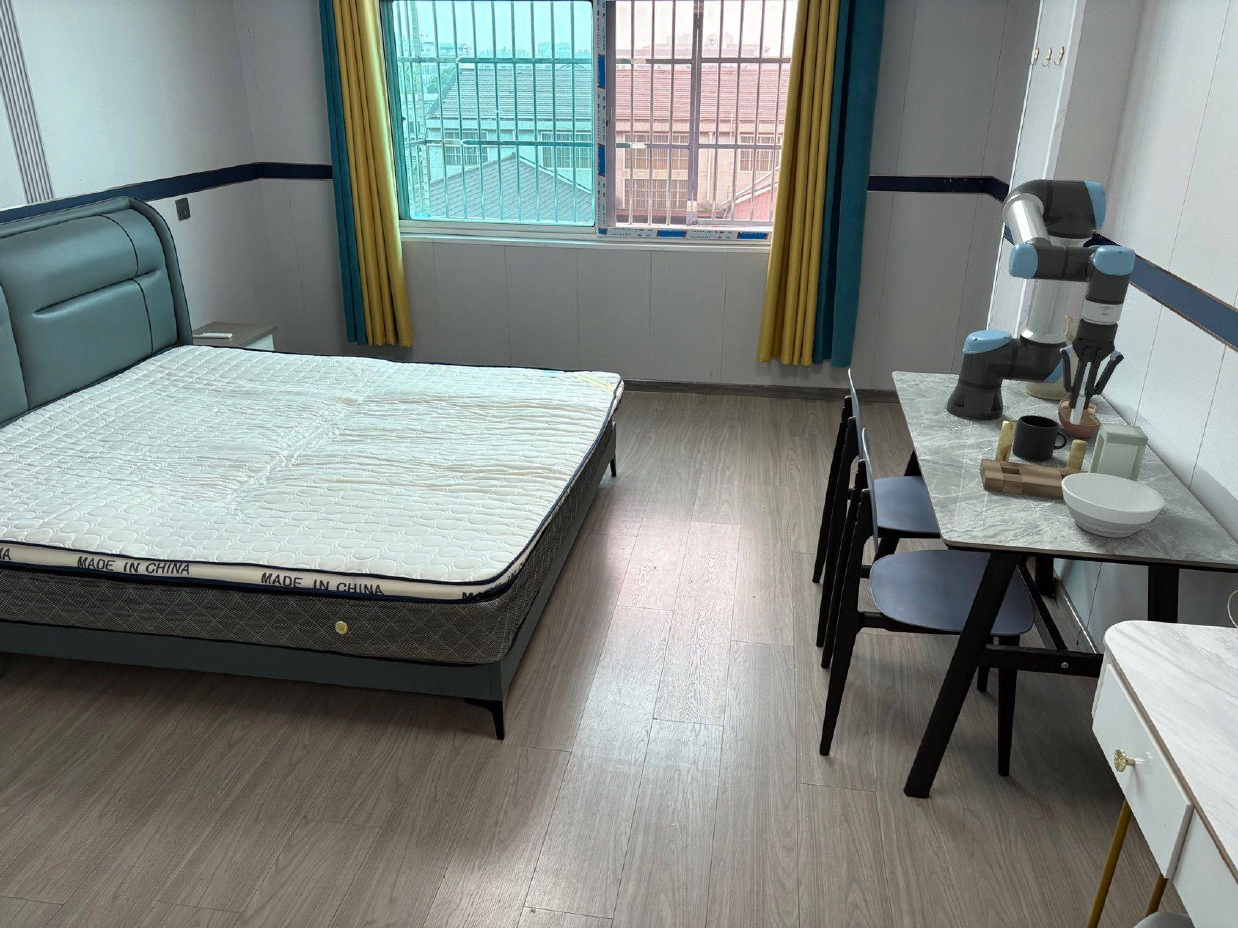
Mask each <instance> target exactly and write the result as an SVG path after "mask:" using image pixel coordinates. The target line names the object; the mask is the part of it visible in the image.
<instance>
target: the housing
mask: <svg viewBox="0 0 1238 928" xmlns="http://www.w3.org/2000/svg"><path fill="white" fill-rule="evenodd" d="M1100 422H1101V423H1100V426H1099V428H1098V430H1097V431H1098V432H1097V436H1096V441H1095V444H1094V448H1093V452H1092V457H1091V460H1090V462H1089V468H1088V470H1087V471H1088V473H1097V474H1106V475H1112V476H1117V477H1121V478H1126V479H1129V480H1132V481H1135V482H1137V481H1138V477H1139V475H1140V471H1141V467H1142V463H1143V459H1144V455H1145V453H1146V449H1147V445H1148V440H1149V437H1148V436H1147V435H1146V433H1145V432H1144V430H1143V429H1142V428H1141V427H1140V426H1138V425H1130V424H1121V423H1111V422H1104V421H1100Z"/></svg>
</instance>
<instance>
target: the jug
mask: <svg viewBox="0 0 1238 928" xmlns="http://www.w3.org/2000/svg"><path fill="white" fill-rule="evenodd" d="M1064 322H1066V330H1065V332H1064V335H1065V336H1066V342H1067V343H1069V345H1072V342H1073V341H1074V339H1075V338H1076V334H1075V335H1074V334H1073V333H1074V330H1075V321H1074V319H1073V318H1072V316H1071V315H1070V314H1068V313H1066V317H1065V321H1064ZM1070 363H1071V386H1073V382H1074V378H1075V374H1076V370H1077V365H1078V357H1077V355H1076V353H1075V351H1074V350H1073V351H1072V355H1071V356H1070ZM1024 383H1025V390H1026V391H1025V392H1026V393H1027V394H1028V395H1030V396H1032V397H1035V398H1039V399H1043V400H1050V401H1062V400H1063V399H1069V398H1070V396H1071V393H1069V392H1066V391H1065V389H1064V384H1063V376H1062V377H1061V378H1060V379H1059V380H1058V381H1057V382H1055V383H1041V384H1039V383H1034V382H1025V381H1024Z"/></svg>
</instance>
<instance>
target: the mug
mask: <svg viewBox="0 0 1238 928" xmlns="http://www.w3.org/2000/svg"><path fill="white" fill-rule="evenodd" d="M1059 429H1060V423H1059V422H1058V421H1057V420H1054V419H1052V418H1049V417H1046V416H1041V415H1034V414H1031V415H1028V414H1027V415H1022V416H1020V417H1018V421H1017V424H1016V429H1015V434H1014V438H1013V443H1012V448H1011V451H1012V453H1013V455H1014V456H1016V457H1018V458H1021V459H1024V460H1027V461H1032V462H1033V461H1034V462H1047V461H1049V460H1051V459H1052V458H1053V456H1054V451H1056V450H1061V449H1063V448H1065V447H1066V446H1067V444H1068V437H1067V435H1066V434H1065V433H1063V432H1060V431H1059ZM1057 437H1061V438H1062V439H1063V443H1062V444H1061V445H1056V443H1057Z"/></svg>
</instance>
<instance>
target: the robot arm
mask: <svg viewBox="0 0 1238 928" xmlns="http://www.w3.org/2000/svg"><path fill="white" fill-rule="evenodd" d="M1106 211H1107V195H1106V190H1105V187H1104V185H1103V184H1101V183H1100V182H1095V181H1090V180H1089V181H1087V180H1079V179H1078V180H1076V179H1075V180H1072V179H1071V180H1070V179H1069V180H1068V179H1047V178H1046V179H1045V178H1044V179H1043V178H1041V179H1039V178H1038V179H1033V180H1029V181H1028V180H1027V181H1025V182H1024V183H1021V184H1019V185H1018V186H1016V187H1015V188H1013V190H1011V191H1010V192H1009V193H1008V194H1007V195H1006V197H1005V198H1004V201H1002V205H1001V210H1000V212H1001V213H1000V215H1001V219H1002V221H1003V224H1005V226H1006V227H1007V228H1008V229H1009V230H1010V234H1011V237H1012V241H1013V244H1014V245H1013V246H1012V248H1011V251H1010V255H1009V258H1008V260H1009V261H1008V274H1009V275H1010V277H1013V278H1018V279H1019V278H1020V279H1024V280H1037V281H1038V282H1037V286H1036V291H1035V295H1034V297H1033V303H1032V308H1031V311H1030V316H1029V319H1028V320H1029V321H1028V326H1027V327H1025V328H1023V329H1022V330H1021V331H1020V334H1019V338H1017V337H1014V338H1013V335H1012V334H1011V333H1010V332H1009V331H1006V330H999V329H984V330H978V331H974V332H971V333H970V334H968V335H967V337H966V338H965V341H964V345H963V349H962V357H961V361H960V362H961V363H960V367H959V368H960V369H959V373H958V380H957V384H956V386H955V387H954V389H953V391H952V393H951V394H950V396H949V398H948V399H947V404H946V410H947V412H949V413H951V414H952V415H954V416H957V417H960V418H963V419H967V420H975V421H986V422H987V421H996V420H999V419H1001V418H1002V417H1003V414H1004V409H1005V408H1004V402H1003V401H1004V400H1003V396H1002V395H1003V394H1002V386H1003V381H1004V380H1006V381H1017V382H1024V383H1025V382H1034V383H1039V384H1041V383H1055V382H1057V381H1058V380H1059V379H1060V378H1061V377H1062V376H1063V384H1064V389H1065V391H1066V392H1069V393H1070V396H1069V399H1070V401H1069V407H1070V408H1071V409H1072V413H1071V417H1070V421H1071V423H1072V424H1078V425H1079V423H1080V419H1081V415H1082V411H1083V410H1087V409H1088V407H1089V403H1091V399H1092V398H1093V397H1094V396H1101V395H1102V393H1103V392H1104V389H1105V387H1106V386H1107V384H1108V382H1109V380H1110V379H1111V377H1112V375H1113V373H1114V372H1115V370H1116V367H1117V366H1118V365H1120V363H1121V362H1122V361H1123V360H1124V358H1125V356H1124V355H1123V354H1122V353H1121V352H1120V351H1118V350H1116V347H1115V340H1116V337H1117V332H1118V327H1119V324H1118V322H1119V321H1120V320H1121V317H1122V311H1123V307H1124V303H1125V300H1126V296H1127V294H1128V293H1127V292H1128V288H1129V284H1130V281H1131V277H1132V272H1133V271H1134V269H1135V261H1136V260H1135V259H1136V251H1135V250H1134V249H1132V248H1130V247H1127V246H1122V245H1121V246H1120V245H1107V244H1106V245H1090V246H1089V247H1088V246H1087V247H1084V244H1085V243H1086V242H1087V241H1089V240H1092V238H1093V234H1094V231H1099V230H1101V229H1102V228H1103V226H1104V225H1103V224H1104V223H1105V219H1106V214H1107V213H1106ZM1075 283H1086V284H1087V288H1086V294H1085V296H1084V297H1085V298H1084V301H1083V304H1082V310H1081V314H1080V316H1081V317H1082V318H1080V319H1079V321H1078V326H1077V331H1076V334H1075V336H1076V338H1075V339H1074V341H1073V342H1072V345H1069V343H1067V342H1066V336H1065V335H1064V334H1065V332H1063V329H1064V324H1065V322H1066V321H1065V317H1066V314H1068V309H1069V305H1070V300H1071V297H1072V292H1073V287H1074V284H1075ZM1073 350H1074V351H1075V353H1076V355H1077V357H1078V365H1077V370H1076V374H1075V378H1074V382H1073V386H1071V363H1070V356H1071V355H1072V351H1073ZM1108 357H1109V360H1108V362H1106V365H1105V367H1104V369H1103V370H1102V372H1101V374H1100V376H1099V378H1098V379H1097V376H1098V372H1099V369H1100V367H1101V363H1102V362H1103V361H1104V360H1105V359H1107V358H1108ZM1088 363H1090V366H1089V369H1088V372H1087V377H1086V382H1085V386H1084V390H1083V392H1082V393H1081V392H1080V391H1081V388H1082V385H1083V381H1084V376H1085V372H1086V369H1087V366H1088ZM1096 380H1097V381H1096Z"/></svg>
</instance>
